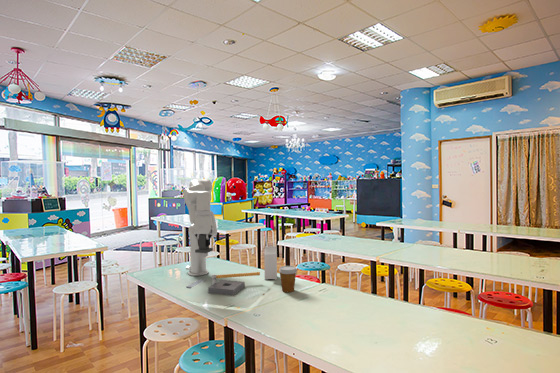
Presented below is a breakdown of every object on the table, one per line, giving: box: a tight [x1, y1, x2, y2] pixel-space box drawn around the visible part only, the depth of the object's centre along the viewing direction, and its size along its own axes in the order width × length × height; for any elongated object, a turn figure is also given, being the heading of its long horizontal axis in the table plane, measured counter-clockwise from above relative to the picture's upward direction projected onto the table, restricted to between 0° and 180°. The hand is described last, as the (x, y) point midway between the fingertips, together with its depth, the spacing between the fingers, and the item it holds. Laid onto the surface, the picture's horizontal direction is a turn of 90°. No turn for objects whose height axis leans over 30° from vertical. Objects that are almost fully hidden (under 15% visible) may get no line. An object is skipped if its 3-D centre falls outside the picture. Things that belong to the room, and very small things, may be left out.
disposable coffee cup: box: [278, 265, 298, 293], centre depth 170 cm, size 10×10×12 cm
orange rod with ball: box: [211, 271, 261, 280], centre depth 177 cm, size 26×3×2 cm, turn 103°
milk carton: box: [263, 245, 278, 281], centre depth 193 cm, size 7×7×19 cm
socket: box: [207, 278, 246, 296], centre depth 169 cm, size 17×14×6 cm
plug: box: [195, 234, 214, 258], centre depth 181 cm, size 7×7×12 cm
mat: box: [186, 278, 206, 289], centre depth 182 cm, size 14×14×1 cm
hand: (203, 245), depth 181 cm, fingers closed on plug, 4 cm apart
